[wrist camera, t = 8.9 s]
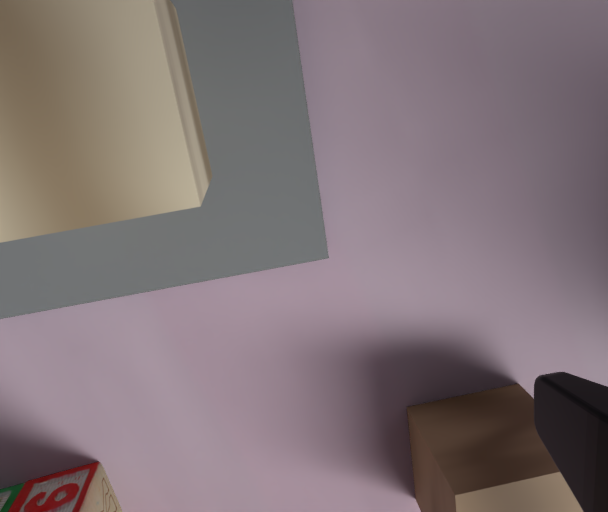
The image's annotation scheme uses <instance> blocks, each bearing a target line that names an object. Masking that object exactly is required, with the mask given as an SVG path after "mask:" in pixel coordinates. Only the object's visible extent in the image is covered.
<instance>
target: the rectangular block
mask: <svg viewBox="0 0 608 512" xmlns="http://www.w3.org/2000/svg"><path fill="white" fill-rule="evenodd" d="M407 416H408V426H409V436H410V446H411V457H412V467H413V477H414V487H415V497H416V501H417V503H418V505H419V508H420V510H421V512H583V510H582V508H581V507H580V505H579V503H578V502H577V500H576V498H575V496H574V495H573V493H572V491H571V490H570V488H569V486H568V485H567V483H566V481H565V479H564V478H563V476H562V474H561V473H560V471H559V469H558V468H557V466H556V464H555V463H554V461H553V459H552V457H551V456H550V454H549V452H548V451H547V449H546V447H545V446H544V444H543V442H542V441H541V439H540V437H539V435H538V433H537V431H536V428H535V424H534V399H533V398H532V397H531V396H530V395H529V394H528V393H527V392H526V391H525V390H524V389H523V388H522V387H521V386H520V385H519V384H514V385H509V386H505V387H500V388H495V389H490V390H485V391H481V392H476V393H471V394H466V395H461V396H457V397H452V398H447V399H442V400H438V401H433V402H428V403H423V404H418V405H414V406H409V407H407Z"/></svg>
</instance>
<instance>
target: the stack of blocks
mask: <svg viewBox="0 0 608 512" xmlns="http://www.w3.org/2000/svg"><path fill="white" fill-rule="evenodd" d="M0 512H122V509H121V507H120V505H119V503H118V500H117V498H116V496H115V493H114V491H113V489H112V486H111V484H110V482H109V480H108V477H107V475H106V473H105V471H104V468H103V466H102V464H101V463H100V462H95V463H91V464H88V465H84V466H80V467H77V468H73V469H69V470H66V471H62V472H58V473H55V474H51V475H48V476H44V477H40V478H37V479H33V480H29V481H27V482H25V483H22V484H19V485H15V486H11V487H8V488H4V489H0Z"/></svg>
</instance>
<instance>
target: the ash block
mask: <svg viewBox="0 0 608 512" xmlns="http://www.w3.org/2000/svg"><path fill="white" fill-rule="evenodd" d="M211 179H212V172H211V167H210V162H209V158H208V153H207V149H206V144H205V139H204V135H203V130H202V126H201V121H200V116H199V112H198V107H197V103H196V98H195V93H194V89H193V84H192V80H191V75H190V70H189V66H188V61H187V57H186V52H185V47H184V43H183V38H182V34H181V29H180V24H179V20H178V15H177V11H176V8H175V7H174V5H173V4H172V2H171V1H170V0H0V243H1V242H7V241H12V240H18V239H23V238H29V237H34V236H40V235H45V234H51V233H57V232H62V231H68V230H73V229H79V228H84V227H90V226H95V225H101V224H107V223H112V222H118V221H123V220H129V219H134V218H140V217H145V216H151V215H157V214H162V213H168V212H173V211H179V210H184V209H190V208H195V207H201V204H202V202H203V199H204V197H205V194H206V191H207V189H208V186H209V184H210V181H211Z"/></svg>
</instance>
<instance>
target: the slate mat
mask: <svg viewBox="0 0 608 512" xmlns="http://www.w3.org/2000/svg"><path fill="white" fill-rule="evenodd" d="M170 1H171V2H172V4H173V5H174V7H175V8H176V11H177V15H178V20H179V24H180V29H181V34H182V38H183V43H184V47H185V52H186V57H187V61H188V66H189V70H190V75H191V80H192V84H193V89H194V93H195V98H196V103H197V107H198V112H199V116H200V121H201V126H202V130H203V135H204V139H205V144H206V149H207V153H208V158H209V162H210V167H211V172H212V179H211V181H210V184H209V186H208V189H207V191H206V194H205V197H204V199H203V202H202V204H201V207H195V208H190V209H184V210H179V211H173V212H168V213H162V214H157V215H151V216H145V217H140V218H134V219H129V220H123V221H118V222H112V223H107V224H101V225H95V226H90V227H84V228H79V229H73V230H68V231H62V232H57V233H51V234H45V235H40V236H34V237H29V238H23V239H18V240H12V241H7V242H1V243H0V319H2V318H8V317H13V316H19V315H24V314H30V313H35V312H40V311H46V310H51V309H57V308H62V307H67V306H73V305H78V304H84V303H89V302H94V301H100V300H105V299H111V298H116V297H121V296H127V295H132V294H138V293H143V292H149V291H154V290H159V289H165V288H170V287H176V286H181V285H186V284H192V283H197V282H203V281H208V280H213V279H219V278H224V277H230V276H235V275H240V274H246V273H251V272H257V271H262V270H267V269H273V268H278V267H284V266H289V265H295V264H300V263H305V262H311V261H316V260H322V259H327V258H329V256H328V249H327V242H326V235H325V228H324V221H323V214H322V207H321V200H320V193H319V186H318V179H317V172H316V165H315V158H314V151H313V144H312V137H311V130H310V123H309V116H308V109H307V102H306V95H305V88H304V81H303V74H302V67H301V60H300V53H299V46H298V39H297V32H296V24H295V17H294V10H293V3H292V0H170Z"/></svg>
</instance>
